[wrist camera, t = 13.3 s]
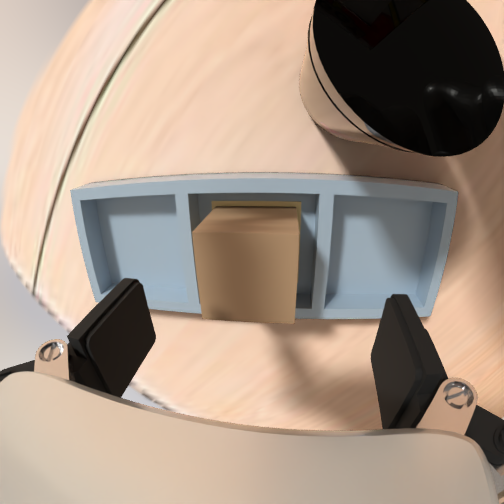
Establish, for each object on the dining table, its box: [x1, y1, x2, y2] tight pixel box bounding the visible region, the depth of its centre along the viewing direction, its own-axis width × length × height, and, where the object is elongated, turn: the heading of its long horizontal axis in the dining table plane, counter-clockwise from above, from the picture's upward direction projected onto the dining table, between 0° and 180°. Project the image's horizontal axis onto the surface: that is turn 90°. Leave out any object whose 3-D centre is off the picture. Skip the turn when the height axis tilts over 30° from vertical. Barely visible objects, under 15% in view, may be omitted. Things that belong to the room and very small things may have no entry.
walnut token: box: [192, 206, 299, 324], centre depth 17 cm, size 5×5×5 cm
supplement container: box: [299, 0, 504, 157], centre depth 10 cm, size 7×7×10 cm
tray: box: [70, 172, 458, 319], centre depth 18 cm, size 25×9×2 cm, turn 91°
